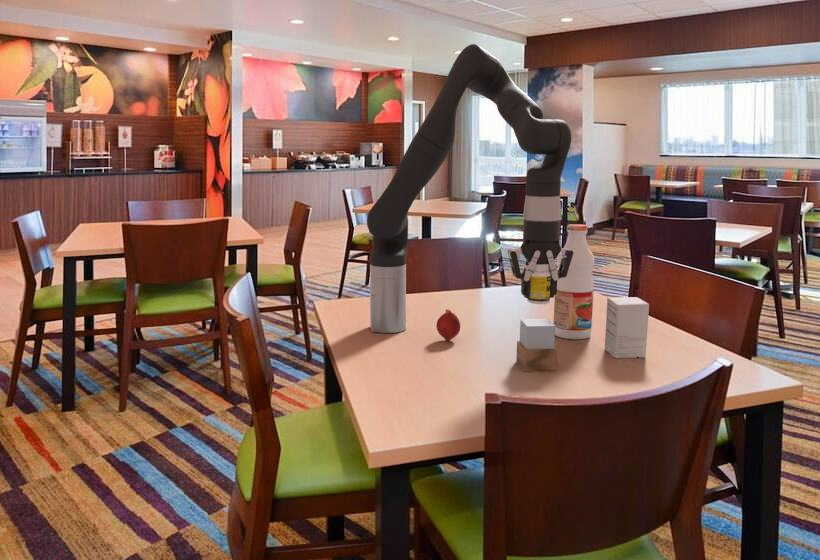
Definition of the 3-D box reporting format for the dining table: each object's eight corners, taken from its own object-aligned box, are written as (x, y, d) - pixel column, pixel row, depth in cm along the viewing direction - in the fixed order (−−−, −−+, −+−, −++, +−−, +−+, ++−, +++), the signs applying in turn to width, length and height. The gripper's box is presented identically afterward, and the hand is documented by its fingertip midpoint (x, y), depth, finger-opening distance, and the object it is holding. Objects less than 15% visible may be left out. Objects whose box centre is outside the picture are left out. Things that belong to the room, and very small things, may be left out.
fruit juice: (558, 328, 176) (563, 222, 170) (595, 333, 171) (601, 224, 166) (548, 337, 168) (553, 225, 162) (585, 342, 163) (592, 228, 158)
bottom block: (524, 372, 142) (525, 350, 141) (516, 362, 149) (517, 340, 148) (556, 371, 142) (557, 349, 141) (547, 361, 149) (547, 339, 148)
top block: (526, 349, 141) (527, 326, 140) (519, 341, 147) (520, 319, 146) (554, 348, 142) (555, 325, 141) (546, 340, 148) (547, 318, 147)
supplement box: (634, 348, 158) (638, 296, 156) (646, 358, 151) (650, 303, 149) (603, 348, 158) (606, 296, 156) (613, 358, 151) (617, 304, 148)
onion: (445, 336, 168) (446, 305, 167) (464, 340, 165) (465, 308, 163) (431, 341, 164) (432, 309, 162) (450, 345, 160) (451, 313, 159)
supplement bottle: (549, 305, 140) (551, 265, 138) (527, 304, 141) (528, 264, 139) (549, 299, 145) (551, 261, 143) (527, 299, 146) (528, 261, 144)
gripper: (512, 219, 135) (510, 302, 138) (581, 219, 136) (577, 300, 140) (503, 216, 142) (501, 294, 146) (569, 215, 144) (565, 292, 147)
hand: (538, 296), depth 143 cm, fingers closed on supplement bottle, 4 cm apart
